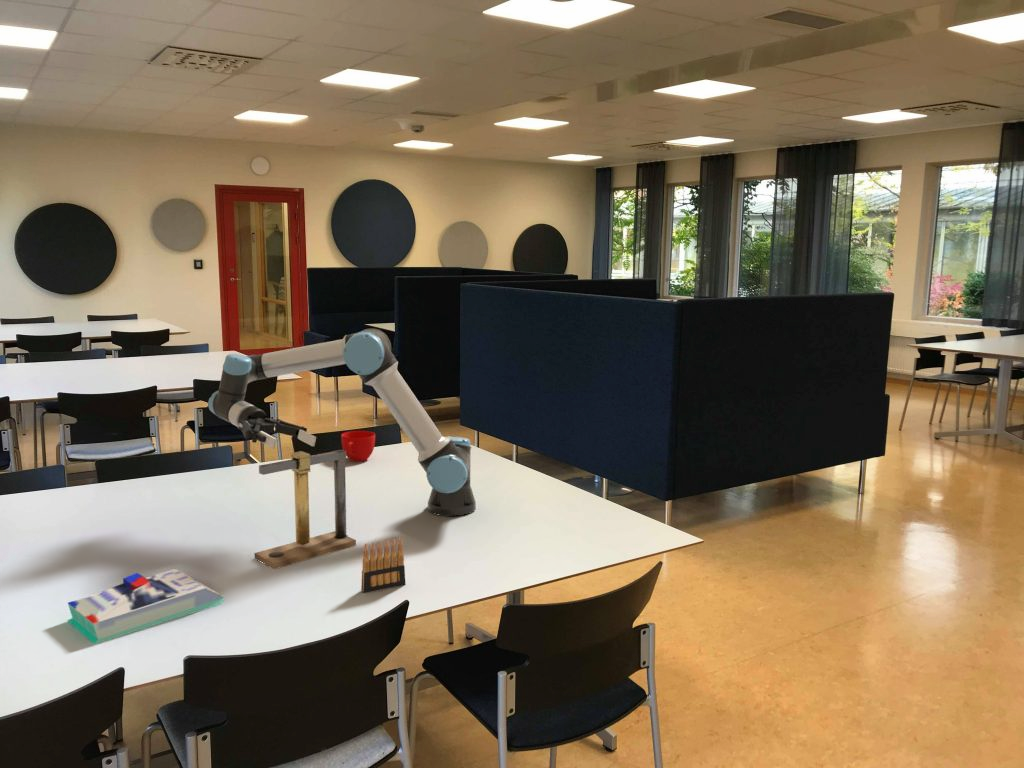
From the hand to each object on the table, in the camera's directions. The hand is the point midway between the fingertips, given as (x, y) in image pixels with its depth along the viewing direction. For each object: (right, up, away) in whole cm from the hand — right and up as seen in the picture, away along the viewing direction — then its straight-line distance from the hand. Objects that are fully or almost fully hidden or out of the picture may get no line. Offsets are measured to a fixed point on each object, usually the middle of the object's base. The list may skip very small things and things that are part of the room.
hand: (295, 442), depth 223 cm
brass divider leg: (+3, -27, -4) cm, 28 cm away
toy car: (-23, -36, -40) cm, 58 cm away
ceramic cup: (-1, -14, +92) cm, 93 cm away
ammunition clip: (+28, -34, -25) cm, 50 cm away
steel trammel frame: (+4, -28, -3) cm, 28 cm away
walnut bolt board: (+4, -29, -3) cm, 30 cm away
